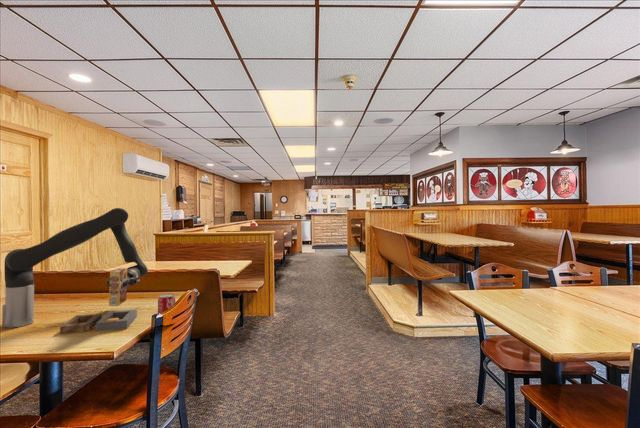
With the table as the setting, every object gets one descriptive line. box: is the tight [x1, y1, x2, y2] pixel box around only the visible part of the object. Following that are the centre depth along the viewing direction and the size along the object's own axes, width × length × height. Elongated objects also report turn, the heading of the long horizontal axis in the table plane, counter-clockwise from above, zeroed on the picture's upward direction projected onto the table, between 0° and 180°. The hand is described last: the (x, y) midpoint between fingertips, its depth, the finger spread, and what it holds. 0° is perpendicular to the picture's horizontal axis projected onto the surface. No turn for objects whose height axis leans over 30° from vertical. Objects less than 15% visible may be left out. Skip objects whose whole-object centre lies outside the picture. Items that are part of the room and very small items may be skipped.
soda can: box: [157, 293, 176, 314], centre depth 139 cm, size 7×7×13 cm
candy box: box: [108, 267, 128, 307], centre depth 140 cm, size 9×4×15 cm, turn 13°
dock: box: [95, 308, 138, 332], centre depth 139 cm, size 12×16×4 cm
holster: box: [59, 313, 103, 335], centre depth 135 cm, size 10×15×3 cm, turn 18°
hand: (117, 285), depth 138 cm, fingers closed on candy box, 4 cm apart
